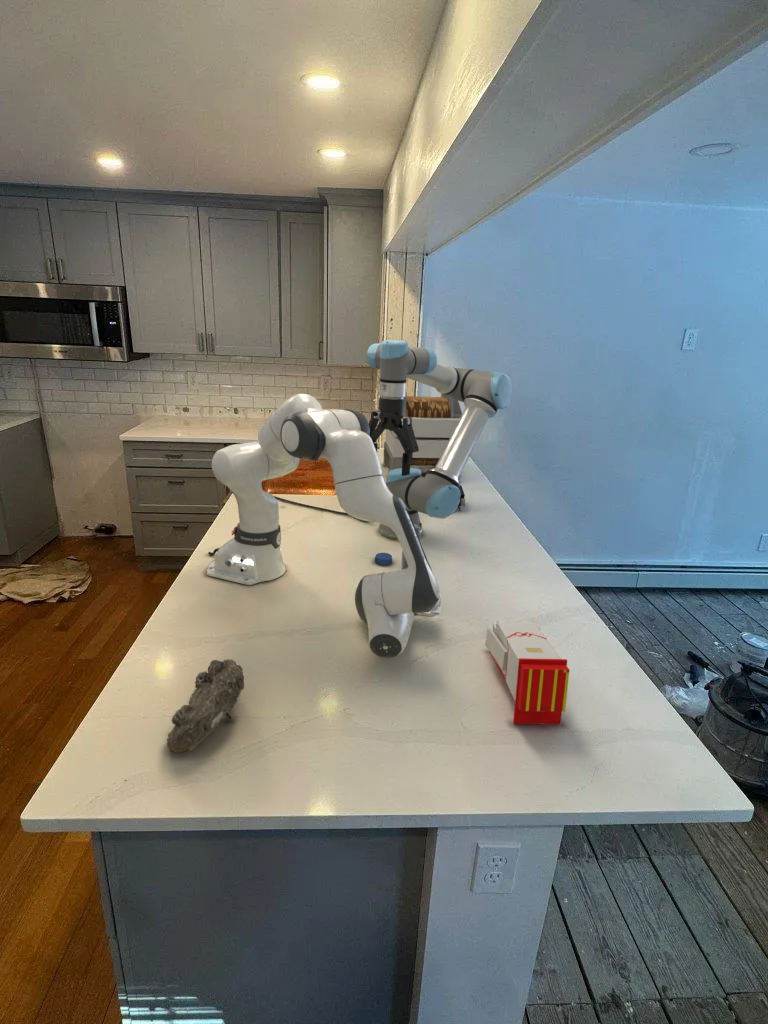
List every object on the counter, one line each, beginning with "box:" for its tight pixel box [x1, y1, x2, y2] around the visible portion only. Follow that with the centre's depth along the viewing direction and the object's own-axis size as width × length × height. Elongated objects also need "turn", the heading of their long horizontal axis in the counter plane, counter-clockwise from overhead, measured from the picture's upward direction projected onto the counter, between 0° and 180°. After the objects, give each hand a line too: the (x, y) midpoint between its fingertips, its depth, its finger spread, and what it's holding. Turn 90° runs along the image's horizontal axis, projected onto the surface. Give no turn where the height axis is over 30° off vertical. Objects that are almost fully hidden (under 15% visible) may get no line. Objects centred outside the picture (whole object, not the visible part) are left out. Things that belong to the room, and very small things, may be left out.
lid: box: [374, 552, 393, 566], centre depth 177 cm, size 5×5×2 cm
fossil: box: [166, 658, 245, 754], centre depth 106 cm, size 22×10×15 cm
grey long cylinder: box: [400, 524, 422, 570], centre depth 158 cm, size 5×5×19 cm
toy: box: [485, 620, 570, 725], centre depth 121 cm, size 12×13×30 cm
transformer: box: [383, 392, 463, 483], centre depth 268 cm, size 34×33×41 cm
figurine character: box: [457, 484, 466, 511], centre depth 229 cm, size 7×8×15 cm
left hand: (404, 585), depth 149 cm, fingers open, 8 cm apart
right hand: (388, 469), depth 168 cm, fingers open, 13 cm apart
